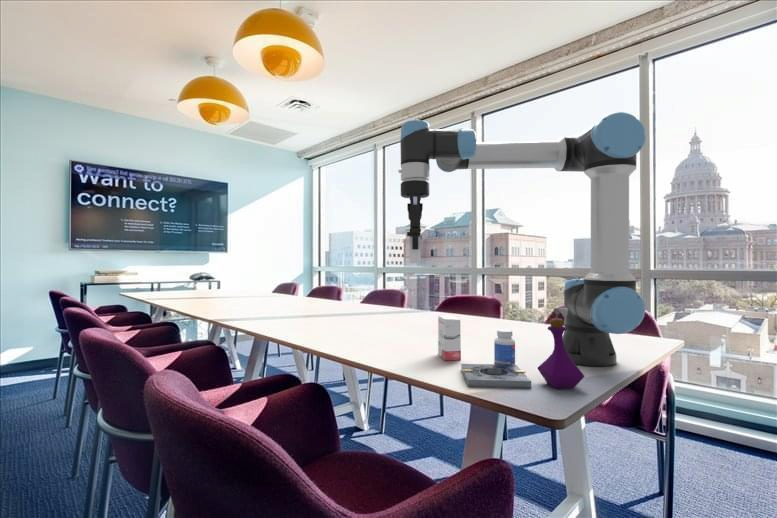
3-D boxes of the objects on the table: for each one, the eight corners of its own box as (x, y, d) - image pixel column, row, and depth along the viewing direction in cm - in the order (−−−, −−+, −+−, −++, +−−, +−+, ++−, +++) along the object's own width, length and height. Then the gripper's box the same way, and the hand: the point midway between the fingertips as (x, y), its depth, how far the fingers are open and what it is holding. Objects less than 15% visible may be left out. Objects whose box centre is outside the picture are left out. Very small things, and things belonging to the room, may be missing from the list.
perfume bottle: (536, 381, 96) (537, 305, 96) (567, 380, 97) (567, 305, 97) (552, 391, 89) (552, 309, 89) (585, 390, 90) (585, 309, 90)
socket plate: (517, 370, 105) (517, 363, 105) (533, 388, 91) (533, 379, 91) (459, 369, 106) (459, 362, 106) (466, 386, 92) (466, 378, 92)
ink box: (461, 360, 116) (461, 319, 116) (444, 360, 116) (444, 319, 116) (453, 353, 125) (453, 314, 125) (437, 353, 125) (437, 315, 124)
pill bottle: (516, 370, 106) (516, 332, 106) (494, 368, 107) (494, 331, 107) (514, 364, 112) (514, 329, 112) (493, 363, 113) (493, 328, 113)
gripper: (401, 189, 119) (401, 262, 119) (399, 171, 95) (399, 263, 95) (427, 189, 119) (427, 262, 119) (431, 171, 94) (431, 263, 94)
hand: (414, 263), depth 107 cm, fingers open, 13 cm apart
